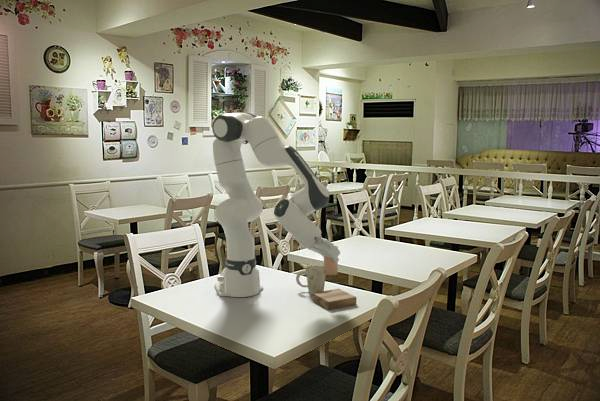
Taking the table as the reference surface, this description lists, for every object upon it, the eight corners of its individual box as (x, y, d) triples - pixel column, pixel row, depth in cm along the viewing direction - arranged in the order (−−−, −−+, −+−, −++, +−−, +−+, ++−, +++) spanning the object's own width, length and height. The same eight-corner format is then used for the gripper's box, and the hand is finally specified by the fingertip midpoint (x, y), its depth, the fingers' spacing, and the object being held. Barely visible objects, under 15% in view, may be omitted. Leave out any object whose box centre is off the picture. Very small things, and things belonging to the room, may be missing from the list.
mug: (324, 295, 198) (324, 271, 197) (293, 294, 201) (293, 269, 200) (327, 289, 206) (327, 266, 205) (297, 288, 209) (297, 264, 208)
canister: (321, 272, 188) (321, 243, 186) (333, 270, 190) (333, 241, 189) (328, 275, 183) (328, 245, 182) (340, 274, 185) (340, 244, 184)
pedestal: (312, 300, 193) (312, 293, 192) (338, 295, 198) (338, 288, 198) (329, 310, 182) (329, 302, 182) (356, 304, 188) (356, 297, 187)
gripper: (329, 233, 172) (352, 258, 178) (301, 224, 190) (323, 247, 196) (317, 247, 171) (342, 272, 176) (291, 237, 189) (313, 259, 194)
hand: (332, 259), depth 186 cm, fingers closed on canister, 5 cm apart
